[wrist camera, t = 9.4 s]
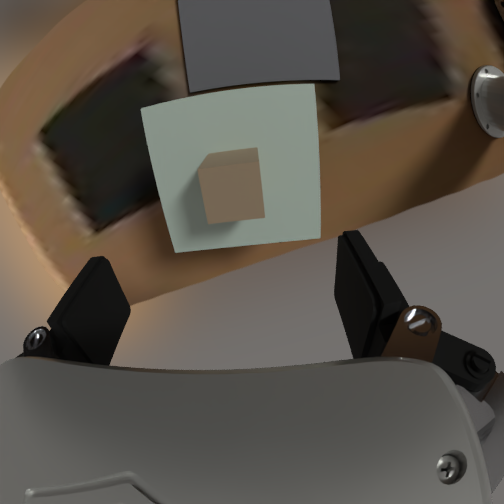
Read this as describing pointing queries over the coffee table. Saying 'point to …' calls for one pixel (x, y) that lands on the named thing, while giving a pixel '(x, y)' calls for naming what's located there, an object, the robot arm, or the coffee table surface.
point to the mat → (257, 41)
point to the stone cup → (500, 7)
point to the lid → (237, 166)
